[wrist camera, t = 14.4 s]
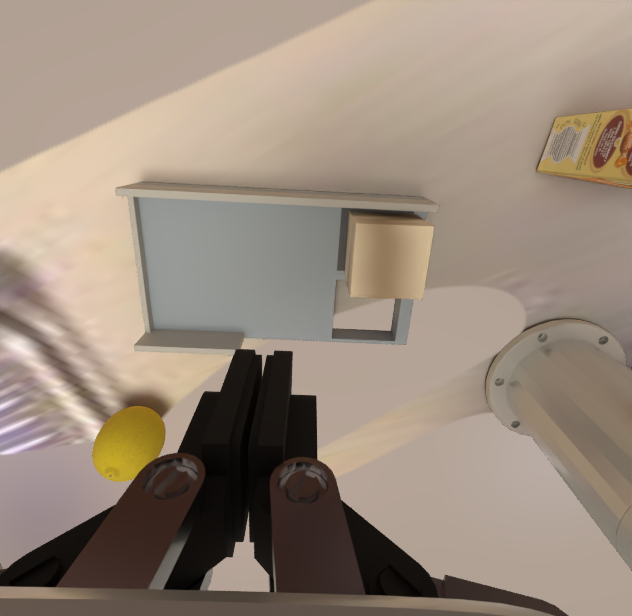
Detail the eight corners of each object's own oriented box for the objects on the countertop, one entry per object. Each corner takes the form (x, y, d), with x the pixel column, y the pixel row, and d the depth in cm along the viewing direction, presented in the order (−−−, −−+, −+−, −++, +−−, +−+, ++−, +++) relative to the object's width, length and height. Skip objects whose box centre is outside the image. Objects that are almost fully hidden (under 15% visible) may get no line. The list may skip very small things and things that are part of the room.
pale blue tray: (422, 196, 31) (441, 206, 26) (401, 334, 36) (414, 362, 31) (141, 181, 30) (111, 188, 26) (158, 323, 35) (134, 351, 31)
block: (415, 213, 30) (434, 226, 25) (406, 276, 31) (422, 299, 27) (349, 210, 29) (356, 223, 25) (344, 274, 31) (350, 296, 27)
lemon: (159, 443, 40) (125, 510, 33) (110, 417, 39) (63, 480, 32) (186, 408, 39) (157, 471, 31) (136, 379, 37) (93, 437, 30)
